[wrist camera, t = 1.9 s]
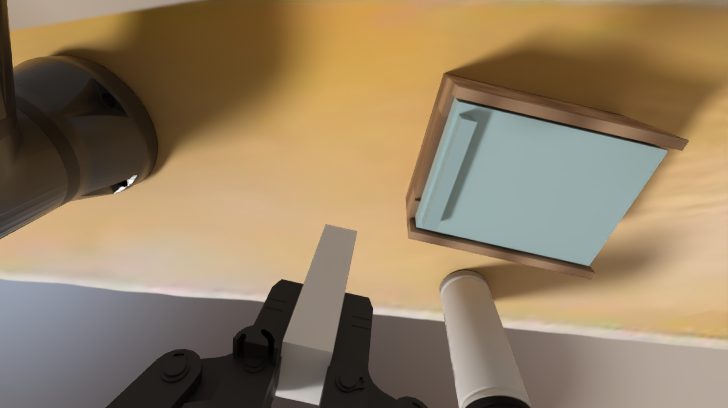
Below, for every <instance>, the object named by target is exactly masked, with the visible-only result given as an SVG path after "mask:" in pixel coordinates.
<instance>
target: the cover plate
mask: <svg viewBox="0 0 728 408" xmlns="http://www.w3.org/2000/svg"><path fill="white" fill-rule="evenodd" d="M667 152H668V150H666V149H663V148H661V147H659V146H657V145H654V144H651V143H647V142H643V141H638V140H634V139H630V138H626V137H621V136H617V135H613V134H608V133H604V132H600V131H596V130H591V129H587V128H583V127H579V126H574V125H570V124H566V123H561V122H557V121H553V120H549V119H544V118H540V117H536V116H531V115H527V114H523V113H519V112H514V111H510V110H506V109H501V108H497V107H493V106H489V105H484V104H480V103H476V102H471V101H467V100H463V99H459V98H454V101H453V104H452V107H451V110H450V113H449V116H448V119H447V122H446V125H445V128H444V131H443V134H442V137H441V140H440V143H439V146H438V149H437V152H436V155H435V158H434V161H433V164H432V167H431V170H430V173H429V176H428V179H427V182H426V185H425V188H424V191H423V194H422V197H421V200H420V203H419V206H418V209H417V213H416V216H415V220H416V227H418V228H422V229H427V230H431V231H436V232H440V233H444V234H449V235H453V236H458V237H462V238H467V239H471V240H476V241H480V242H485V243H489V244H493V245H498V246H502V247H507V248H511V249H516V250H520V251H525V252H529V253H534V254H538V255H542V256H547V257H551V258H556V259H560V260H565V261H569V262H574V263H578V264H582V265H587V266H589V265H590V264H591V263H592V261H593V260H594V258H595V257H596V255H597V254H598V252H599V251H600V249H601V248H602V247H603V245H604V244H605V242H606V241H607V239H608V238H609V236H610V235H611V234H612V232H613V231H614V229H615V228H616V226H617V225H618V223H619V222H620V220H621V219H622V218H623V216H624V215H625V213H626V212H627V210H628V209H629V207H630V206H631V205H632V203H633V202H634V200H635V199H636V197H637V196H638V194H639V193H640V191H641V190H642V189H643V187H644V186H645V184H646V183H647V181H648V180H649V178H650V177H651V176H652V174H653V173H654V171H655V170H656V168H657V167H658V165H659V164H660V163H661V161H662V160H663V158H664V157H665V155H666V154H667Z"/></svg>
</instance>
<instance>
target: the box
mask: <svg viewBox="0 0 728 408" xmlns="http://www.w3.org/2000/svg"><path fill="white" fill-rule="evenodd" d="M454 98H459V99H463V100H467V101H471V102H476V103H480V104H484V105H489V106H493V107H497V108H501V109H506V110H510V111H514V112H519V113H523V114H527V115H531V116H536V117H540V118H544V119H549V120H553V121H557V122H561V123H566V124H570V125H574V126H579V127H583V128H587V129H591V130H596V131H600V132H604V133H608V134H613V135H617V136H621V137H626V138H630V139H634V140H638V141H643V142H647V143H651V144H654V145H660V146H664V147H668V148H673V149H677V150H681V151H682V150H683V149H684V147H685V146H686V145H687V143H688V142H689V141H688V140H686V139H683V138H680V137H678V136H675V135H672V134H670V133H667V132H665V131H662V130H659V129H657V128H654V127H651V126H649V125H646V124H644V123H641V122H638V121H636V120H633V119H630V118H628V117H625V116H622V115H619V114H615V113H610V112H606V111H602V110H598V109H593V108H589V107H585V106H581V105H576V104H572V103H568V102H564V101H559V100H555V99H551V98H547V97H542V96H538V95H534V94H530V93H525V92H521V91H517V90H513V89H508V88H504V87H500V86H496V85H491V84H487V83H483V82H479V81H474V80H470V79H466V78H461V77H457V76H453V75H449V74H443V78H442V81H441V84H440V87H439V91H438V94H437V97H436V101H435V104H434V107H433V110H432V114H431V117H430V120H429V124H428V127H427V130H426V133H425V137H424V140H423V143H422V147H421V150H420V153H419V156H418V160H417V163H416V166H415V170H414V173H413V176H412V179H411V183H410V186H409V189H408V192H407V196H406V209H407V227H408V238H409V239H413V240H418V241H422V242H427V243H431V244H436V245H440V246H445V247H449V248H454V249H458V250H462V251H467V252H471V253H476V254H480V255H485V256H489V257H494V258H498V259H503V260H507V261H512V262H516V263H521V264H525V265H529V266H534V267H538V268H543V269H547V270H552V271H556V272H561V273H565V274H570V275H574V276H579V277H583V278H588V279H591V278H592V277H593V275H594V274H595V272H594V271H593V270H592V268H591V267H590V266H587V265H582V264H578V263H574V262H569V261H565V260H560V259H556V258H551V257H547V256H542V255H538V254H534V253H529V252H525V251H520V250H516V249H511V248H507V247H502V246H498V245H493V244H489V243H485V242H480V241H476V240H471V239H467V238H462V237H458V236H453V235H449V234H444V233H440V232H436V231H431V230H427V229H422V228H418V227H416V220H415V216H416V213H417V209H418V206H419V203H420V200H421V197H422V194H423V191H424V188H425V185H426V182H427V179H428V176H429V173H430V170H431V167H432V164H433V161H434V158H435V155H436V152H437V149H438V146H439V143H440V140H441V137H442V134H443V131H444V128H445V125H446V122H447V119H448V116H449V113H450V110H451V107H452V104H453V101H454Z"/></svg>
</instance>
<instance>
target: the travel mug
mask: <svg viewBox="0 0 728 408" xmlns="http://www.w3.org/2000/svg"><path fill="white" fill-rule="evenodd" d="M440 295H441V301H442V307H443V313H444V319H445V325H446V331H447V337H448V343H449V349H450V355H451V361H452V367H453V373H454V379H455V384H456V391H457V397H458V403H459V408H532V407H531V405H530V401H529V398H528V396H527V393H526V390H525V387H524V384H523V382H522V379H521V376H520V374H519V370H518V368H517V365H516V362H515V359H514V357H513V354H512V351H511V348H510V345H509V343H508V340H507V337H506V334H505V331H504V329H503V326H502V323H501V320H500V318H499V315H498V312H497V309H496V306H495V304H494V301H493V298H492V295H491V292H490V290H489V287H488V284H487V281H486V280H485V278H484V277H483V276H481V275H480V274H478V273H476V272H473V271H467V270H463V271H457V272H454V273H451V274H450V275H448V276H447V277H446V278H445V279H444V280H443V281H442V283H441V285H440Z"/></svg>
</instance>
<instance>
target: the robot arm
mask: <svg viewBox="0 0 728 408" xmlns="http://www.w3.org/2000/svg"><path fill="white" fill-rule="evenodd" d="M156 157H157V138H156V133H155V130H154V126H153V124H152V121H151V119H150V117H149V115H148V113H147V111H146V109H145V107H144V106H143V104H142V103H141V101H140V100H139V99H138V97H137V96H136V95H135V94H134V92H133V91H132V90H131V89H130V88H129V87H128V86H127V85H126V84H125V83H124V82H123V81H122V80H120V79H119V78H118V77H117V76H115V75H114V74H113V73H111V72H110V71H108V70H107V69H105V68H103V67H102V66H100V65H98V64H96V63H94V62H91V61H89V60H86V59H83V58H79V57H74V56H64V55H62V56H49V57H39V58H34V59H30V60H27V61H25V62H23V63H21V64H19V65H17V66H15V67H13V65H12V53H11V42H10V30H9V20H8V8H7V0H0V239H1V238H3V237H5V236H7V235H8V234H10V233H12V232H14V231H16V230H18V229H19V228H21V227H23V226H25V225H27V224H29V223H30V222H32V221H34V220H36V219H38V218H40V217H41V216H43V215H45V214H47V213H49V212H51V211H52V210H54V209H56V208H58V207H60V206H62V205H64V204H65V203H67V202H69V201H74V200H80V199H86V198H92V197H97V196H103V195H109V194H115V193H119V192H121V191H124V190H126V189H129V188H130V187H132V186H134V185H135V184H137V183H139V182H140V181H142V180H143V179H145V178H146V177H147V176H148V175H149V173H150V172H151V171H152V169H153V167H154V164H155V162H156ZM356 234H357V231H354V230H349V229H345V228H340V227H336V226H331V225H327V224H326V225H325V228H324V230H323V233H322V236H321V239H320V241H319V244H318V247H317V249H316V252H315V255H314V258H313V260H312V263H311V266H310V268H309V271H308V274H307V277H306V279H305V282H304V284H301V283H296V282H292V281H287V280H283V279H281V280H280V281H279V282H278V283H277V284H275V285H274V286H273V287H272V289H271V291H270V293H269V295H268V297H267V300H266V301H265V303H264V305H263V308H262V309H261V311H260V313H259V315H258V317H257V319H256V321H255V323H254V325H253V326H249V327H246V328H244V329H242V330H241V331H239V332H238V333H237V334H236V336H235V337H234V338H233V353H232V354H229V355H227V356H223V357H217V358H207V359H206V358H205V359H200V357H199V355H197V354H196V353H195V352H194V351H191V350H187V349H179V350H174V351H171V352H168V353H166V354H164V355H163V356H161V357H160V358H158V359H157V360H156V361H155V362H154V363H153V364H152V365H151V366H150V367H148V368H147V369H146V370H145V371H144V372H143V373H142V374H141V375H140V376H139V377H138V378H137V379H136V380H135V381H134V382H133V383H131V384H130V385H129V386H128V387H127V388H126V389H125V390H124V391H123V392H122V393H121V394H120V395H119V396H118V397H117V398H116V399H114V400H113V401H112V402H111V403H110V404H109V405H108V406H107V407H106V408H271V405H272V402H273V399H274V396H275V393H276V396H279V397H284V398H289V399H293V400H298V401H303V402H307V403H312V404H317V405H319V407H318V408H427V406H426V405H424V403H423V402H421V401H420V400H418V399H416V398H413V397H407V396H406V397H402V398H399V399H397V400H396V399H394V398H393V397H391V396H389V395H388V394H386V393H384V392H383V391H381V390H380V389H379V388H378V387H377V386H376V385H375V384H374V383H373V382H372V379H371V378H370V375H369V371H368V361H369V348H370V338H371V326H372V315H373V307H372V305H371V302H370V300H369V298H368V297H363V296H359V295H354V294H350V293H345V289H346V284H347V279H348V274H349V269H350V264H351V259H352V254H353V249H354V244H355V239H356Z"/></svg>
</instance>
